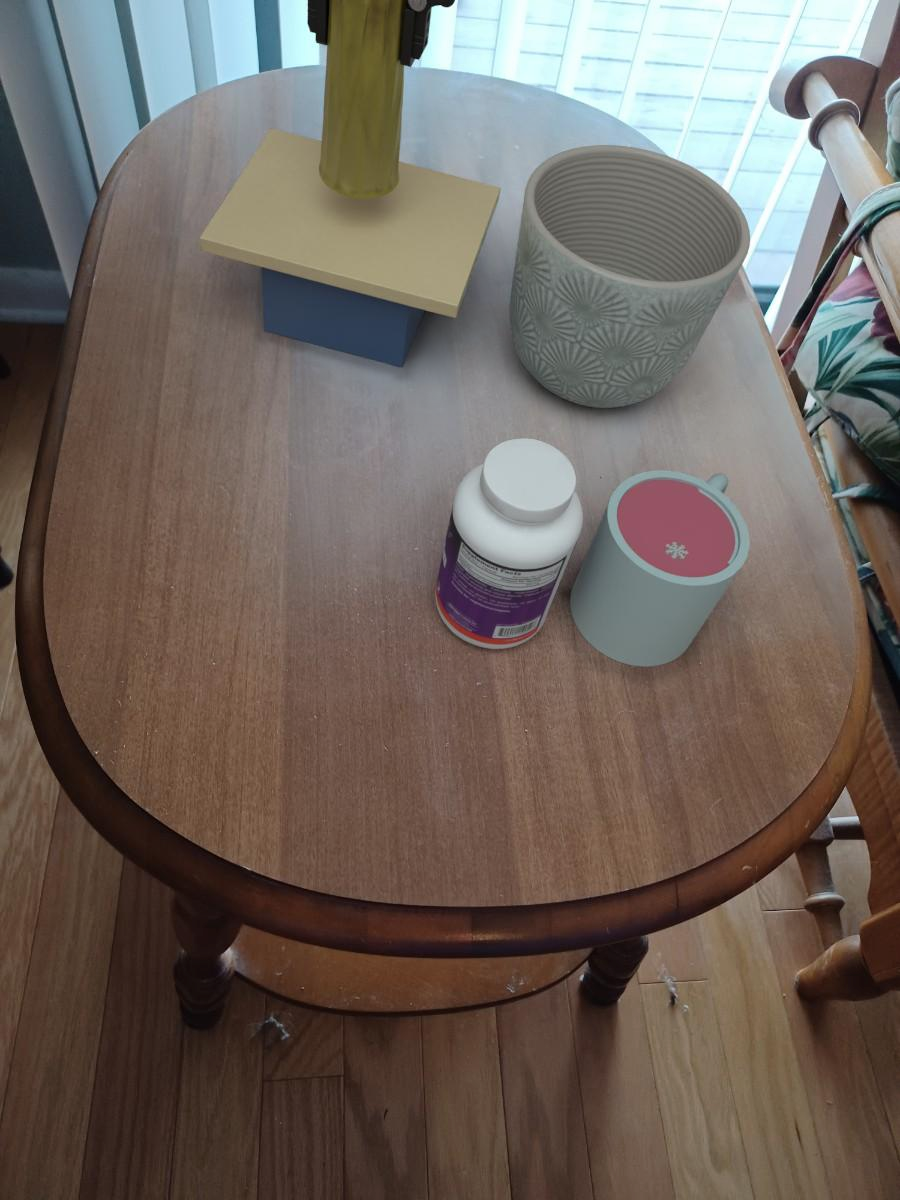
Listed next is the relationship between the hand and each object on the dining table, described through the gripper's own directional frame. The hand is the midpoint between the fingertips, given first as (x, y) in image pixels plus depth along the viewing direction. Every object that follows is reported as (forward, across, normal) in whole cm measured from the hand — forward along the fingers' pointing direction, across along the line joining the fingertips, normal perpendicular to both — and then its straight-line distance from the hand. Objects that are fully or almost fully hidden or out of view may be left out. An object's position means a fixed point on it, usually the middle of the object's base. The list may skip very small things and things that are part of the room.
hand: (366, 48), depth 65 cm
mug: (+22, -29, +22) cm, 42 cm away
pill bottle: (+22, -18, +27) cm, 39 cm away
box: (+22, 0, 0) cm, 22 cm away
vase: (+10, 0, 0) cm, 10 cm away
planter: (+22, -21, 0) cm, 30 cm away
